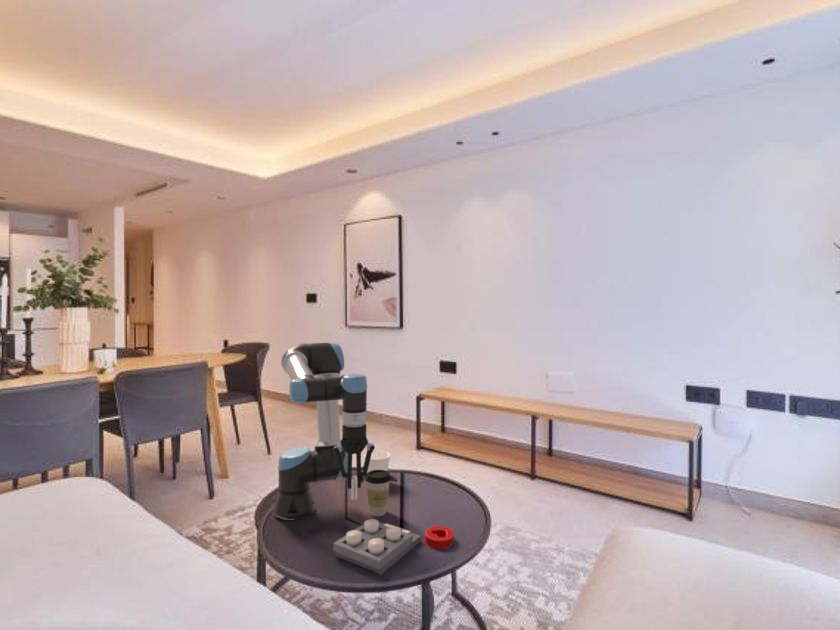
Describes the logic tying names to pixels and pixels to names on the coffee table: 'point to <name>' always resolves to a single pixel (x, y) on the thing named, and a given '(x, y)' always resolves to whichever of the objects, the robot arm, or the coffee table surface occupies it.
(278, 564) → the coffee table surface
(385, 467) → the cup
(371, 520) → the inner button
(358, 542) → the inner button
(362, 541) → the board
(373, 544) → the outer button
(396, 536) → the outer button
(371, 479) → the coffee cup
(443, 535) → the decorative ornament
